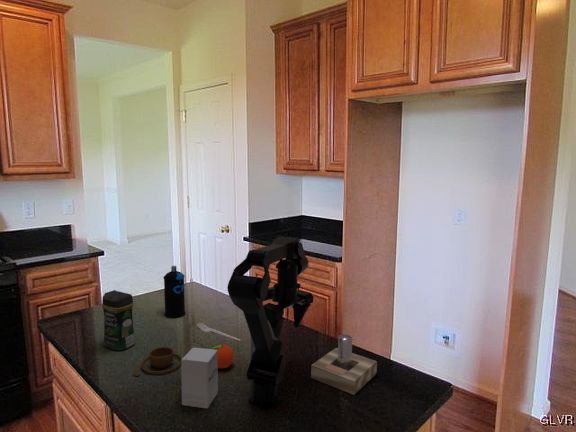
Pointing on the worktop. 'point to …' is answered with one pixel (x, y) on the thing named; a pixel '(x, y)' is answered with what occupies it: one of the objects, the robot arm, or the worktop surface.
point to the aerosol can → (174, 294)
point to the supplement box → (199, 377)
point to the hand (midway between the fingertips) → (286, 332)
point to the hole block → (344, 372)
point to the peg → (344, 352)
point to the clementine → (224, 355)
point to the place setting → (160, 361)
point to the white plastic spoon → (214, 331)
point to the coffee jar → (118, 320)
